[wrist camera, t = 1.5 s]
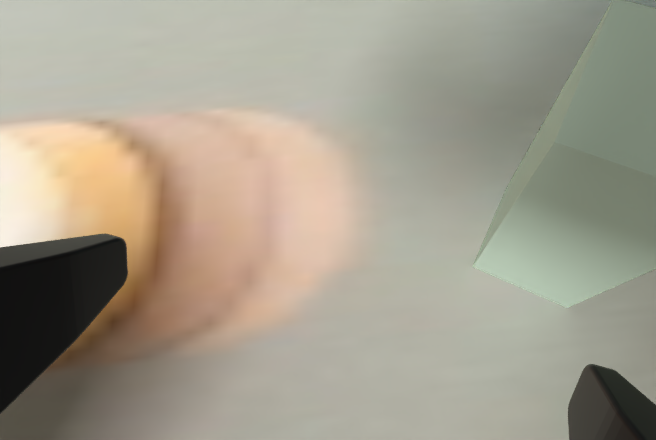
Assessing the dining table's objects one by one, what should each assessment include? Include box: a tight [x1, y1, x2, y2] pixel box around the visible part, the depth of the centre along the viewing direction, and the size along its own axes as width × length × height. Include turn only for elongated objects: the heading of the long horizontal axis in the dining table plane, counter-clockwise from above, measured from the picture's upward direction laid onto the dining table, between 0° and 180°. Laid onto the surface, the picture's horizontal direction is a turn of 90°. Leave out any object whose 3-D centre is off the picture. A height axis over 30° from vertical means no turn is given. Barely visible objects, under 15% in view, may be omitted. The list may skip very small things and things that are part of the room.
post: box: [473, 0, 656, 308], centre depth 17 cm, size 4×4×12 cm
